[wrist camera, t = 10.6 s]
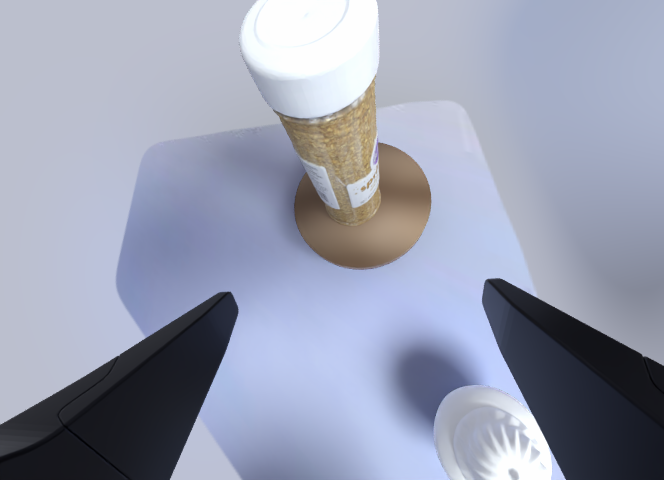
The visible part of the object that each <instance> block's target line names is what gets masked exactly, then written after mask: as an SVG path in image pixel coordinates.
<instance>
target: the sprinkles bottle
mask: <svg viewBox="0 0 664 480" xmlns="http://www.w3.org/2000/svg"><path fill="white" fill-rule="evenodd" d="M239 45H240V51H241V54H242V57H243V60H244V62H245V64H246V66H247V68H248V69H249V72H250V74H251V76H252V78H253V80H254V82H255V83H256V85H257V87H258V89H259V91H260V92H261V94H262V96H263V98H264V99H265V101H266V102H267V104H268V105H269V106H270V107H271V108H272V109H273V111H274V112H275V113H276V114H277V115H278V116H279V117H280V120H281V122H282V124H283V126H284V128H285V129H286V132H287V134H288V135H289V137H290V139H291V141H292V143H293V147H294V149H295V151H296V153H297V155H298V157H299V159H300V161H301V163H302V164H303V166H304V168H305V170H306V172H307V174H308V176H309V177H310V179H311V181H312V183H313V185H314V187H315V189H316V191H317V192H318V194H319V196H320V198H321V199H322V200H323V201H324V203H325V207H326V210H327V212H328V214H329V216H330V217H331V218H332V219H333V220H334V221H336V222H338V223H340V224H342V225H346V226H357V225H361V224H363V223H365V222H367V221H368V220H370V219H371V218H372V217H373V216H374V215H375V214H376V212H377V210H378V208H379V206H380V203H381V194H380V190H379V158H378V132H377V126H376V106H375V81H374V80H375V77H376V72H377V69H378V64H379V22H378V8H377V2H376V0H257V1H256V2H255V4H254V5H253V6H252V7H251V9H250V10H249V12H248V13H247V15H246V17H245V19H244V21H243V23H242V27H241V30H240V37H239Z"/></svg>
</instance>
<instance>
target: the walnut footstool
mask: <svg viewBox="0 0 664 480" xmlns="http://www.w3.org/2000/svg"><path fill="white" fill-rule="evenodd" d="M378 158H379V190H380V194H381V203H380V206H379V208H378V210H377V212H376V214H375V215H374V216H373V217H372V218H371V219H370V220H368V221H367V222H365V223H363V224H361V225H357V226H346V225H342V224H340V223H338V222H336V221H334V220H333V219H332V218H331V217H330V216H329V214H328V212H327V210H326V207H325V203H324V201H323V200H322V199H321V198H320V196H319V194H318V192H317V191H316V189H315V187H314V185H313V183H312V181H311V179H310V177H309V176H308V174H307V172H306V173H305V175H304V176H303V178H302V180H301V182H300V184H299V186H298V189H297V192H296V196H295V204H294V211H295V219H296V223H297V226H298V229H299V231H300V233H301V235H302V237H303V238H304V240H305V241H306V243H307V244H308V245H309V246H310V247H311V248H312V249H313V250H314V251H315V252H316V253H317V254H318V255H320V256H321V257H322V258H324V259H325V260H327V261H328V262H330V263H332V264H335V265H337V266H340V267H344V268H349V269H359V270H364V269H373V268H377V267H381V266H384V265H387V264H389V263H391V262H393V261H395V260H397V259H399V258H400V257H401V256H403V255H404V254H405V253H407V252H408V251H409V250H410V249H411V248H412V247H413V246H414V244H415V243H416V242H417V241H418V239H419V237H420V236H421V234H422V232H423V230H424V228H425V226H426V223H427V221H428V218H429V214H430V209H431V192H430V187H429V184H428V181H427V178H426V176H425V174H424V172H423V171H422V169H421V168H420V166H419V165H418V164H417V163H416V162H415V161H414V160H413V159H412V158H411V157H410V156H409V155H407V154H406V153H405V152H403V151H401V150H399V149H398V148H395V147H393V146H390V145H387V144H383V143H378Z"/></svg>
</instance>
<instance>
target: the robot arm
mask: <svg viewBox="0 0 664 480" xmlns="http://www.w3.org/2000/svg"><path fill="white" fill-rule="evenodd" d="M482 304H483V307H484V310H485V312H486V315H487V318H488V320H489V323H490V326H491V328H492V331H493V334H494V336H495V339H496V342H497V344H498V347H499V349H500V351H501V353H502V355H503V358H504V359H505V361H506V363H507V365H508V367H509V369H510V371H511V373H512V375H513V377H514V379H515V381H516V383H517V385H518V387H519V389H520V391H521V393H522V395H523V397H524V399H525V401H526V402H527V404H528V406H529V408H530V410H531V412H532V414H533V416H534V418H535V420H536V422H537V424H538V426H539V428H540V430H541V432H542V434H543V436H544V438H545V440H546V442H547V444H548V445H549V447H550V449H551V451H552V453H553V455H554V457H555V459H556V461H557V463H558V465H559V467H560V469H561V471H562V473H563V475H564V477H565V479H566V480H664V366H663V365H661V364H659V363H657V362H656V361H654V360H651V359H650V358H648V357H643V356H642V354H640V353H639V352H637V351H635V350H633V349H631V348H629V347H627V346H626V345H624V344H622V343H620V342H618V341H616V340H614V339H613V338H611V337H609V336H607V335H605V334H603V333H601V332H600V331H598V330H596V329H594V328H592V327H590V326H588V325H586V324H585V323H583V322H581V321H579V320H577V319H575V318H574V317H572V316H570V315H568V314H566V313H564V312H562V311H560V310H559V309H557V308H555V307H553V306H551V305H549V304H547V303H546V302H544V301H542V300H540V299H538V298H536V297H534V296H533V295H531V294H529V293H527V292H525V291H523V290H521V289H520V288H518V287H516V286H514V285H512V284H510V283H508V282H507V281H505V280H503V279H500V278H495V279H487V280H486V281H485V283H484V290H483V296H482ZM237 316H238V306H237V304H236V301H235V299H234V297H233V295H232V293H231V292H219V293H217V294H216V295H214V296H213V297H211V298H209V299H208V300H206V301H205V302H203V303H201V304H200V305H198V306H197V307H195V308H194V309H192V310H190V311H189V312H187V313H186V314H184V315H182V316H181V317H179V318H178V319H176V320H174V321H173V322H171V323H170V324H168V325H166V326H165V327H163V328H162V329H160V330H158V331H157V332H155V333H154V334H152V335H150V336H149V337H147V338H146V339H144V340H142V341H141V342H139V343H138V344H136V345H134V346H133V347H131V348H130V349H128V350H127V351H125V352H123V353H122V354H120V356H117V357H115V358H114V359H112V360H110V361H109V362H108V363H106V364H104V365H102V366H101V367H99V368H98V369H96V370H94V371H93V372H91V373H89V374H88V375H86V376H85V377H83V378H81V379H80V380H78V381H76V382H74V383H72V384H71V385H69V386H67V387H66V388H64V389H62V390H60V391H59V392H57V393H55V394H53V395H52V396H50V397H48V398H47V399H45V400H43V401H41V402H39V403H38V404H36V405H34V406H32V407H31V408H29V409H27V410H26V411H24V412H22V413H20V414H19V415H17V416H15V417H13V418H11V419H10V420H8V421H6V422H4V423H3V424H1V425H0V480H170V478H171V476H172V473H173V471H174V469H175V467H176V464H177V462H178V460H179V457H180V455H181V453H182V451H183V448H184V446H185V444H186V441H187V439H188V437H189V435H190V432H191V430H192V428H193V425H194V423H195V421H196V418H197V416H198V414H199V412H200V409H201V407H202V405H203V402H204V400H205V398H206V396H207V393H208V391H209V389H210V386H211V384H212V382H213V380H214V377H215V375H216V373H217V370H218V368H219V366H220V364H221V361H222V359H223V357H224V354H225V352H226V349H227V346H228V343H229V340H230V337H231V334H232V331H233V328H234V325H235V322H236V319H237Z"/></svg>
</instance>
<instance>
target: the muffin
mask: <svg viewBox="0 0 664 480" xmlns="http://www.w3.org/2000/svg"><path fill="white" fill-rule="evenodd" d="M434 443H435V448H436V452H437V455H438V458H439V460H440V462H441V465H442V467H443V468H444V470H445V472H446V474H447V475H448V477H449V478H450V479H451V480H550V479H551V471H552V467H551V456H550V452H549V447H548V444H547V442H546V440H545V438H544V436H543V434H542V432H541V430H540V428H539V426H538V424H537V422H536V420H535V418H534V417H533V415H532V414H531V413H530V412H529V410H528V409H527V408H526V407H525V406H524V405H522V404H521V403H520V402H519V401H518V400H517V399H515V398H514V397H512V396H511V395H509V394H508V393H506V392H504V391H502V390H499V389H497V388H494V387H490V386H484V385H469V386H464V387H461V388H460V387H459V388H458V389H455V390H453V391H451V392H450V393H449V394H448V395H447V396H446V397H444V399H443V401H442V402H441V404H440V406H439V408H438V411H437V412H436V417H435V422H434Z"/></svg>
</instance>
